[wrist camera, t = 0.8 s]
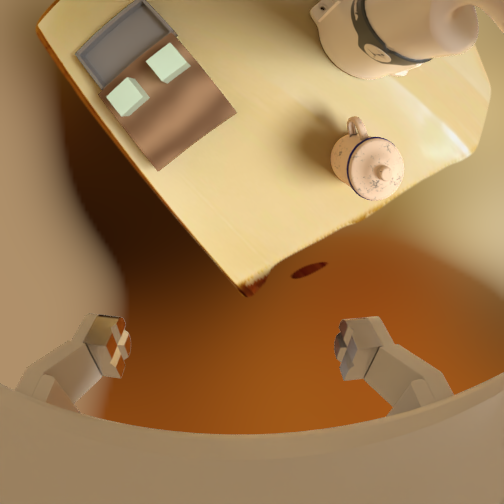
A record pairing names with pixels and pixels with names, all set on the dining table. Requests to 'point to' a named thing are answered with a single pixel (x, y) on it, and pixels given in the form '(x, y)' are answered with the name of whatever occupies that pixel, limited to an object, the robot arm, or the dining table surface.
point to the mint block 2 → (168, 63)
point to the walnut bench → (170, 106)
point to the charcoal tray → (122, 41)
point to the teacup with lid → (367, 162)
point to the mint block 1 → (127, 97)
